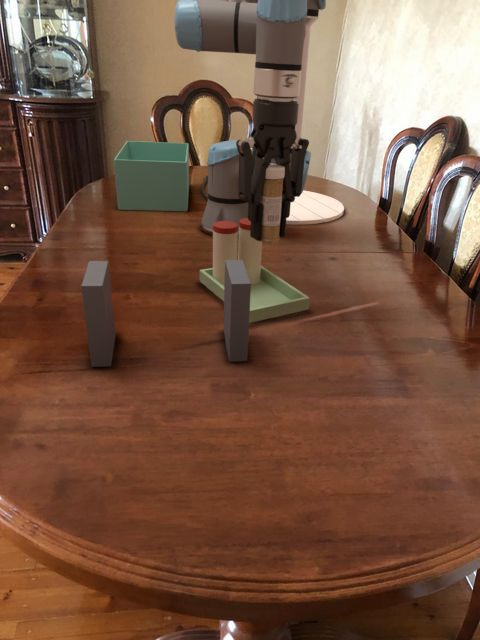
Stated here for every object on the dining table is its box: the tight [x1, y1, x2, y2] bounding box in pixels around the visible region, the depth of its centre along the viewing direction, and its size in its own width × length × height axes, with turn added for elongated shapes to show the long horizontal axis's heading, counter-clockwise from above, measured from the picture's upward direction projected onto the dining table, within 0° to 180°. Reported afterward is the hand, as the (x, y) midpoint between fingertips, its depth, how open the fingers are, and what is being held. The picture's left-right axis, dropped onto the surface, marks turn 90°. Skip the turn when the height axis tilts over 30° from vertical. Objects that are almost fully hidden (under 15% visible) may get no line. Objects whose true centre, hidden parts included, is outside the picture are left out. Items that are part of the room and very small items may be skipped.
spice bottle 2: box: [237, 218, 263, 285], centre depth 111 cm, size 5×5×13 cm
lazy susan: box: [286, 189, 345, 226], centre depth 171 cm, size 40×39×3 cm
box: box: [113, 140, 190, 212], centre depth 169 cm, size 21×32×14 cm, turn 6°
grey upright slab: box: [223, 259, 251, 363], centre depth 88 cm, size 3×10×14 cm, turn 9°
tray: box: [199, 265, 311, 324], centre depth 108 cm, size 22×14×3 cm, turn 31°
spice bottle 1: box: [212, 221, 239, 286], centre depth 109 cm, size 5×5×13 cm
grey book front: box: [80, 260, 117, 368], centre depth 84 cm, size 3×10×14 cm, turn 9°
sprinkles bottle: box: [259, 164, 285, 244], centre depth 95 cm, size 5×5×14 cm
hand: (267, 236), depth 98 cm, fingers closed on sprinkles bottle, 4 cm apart
